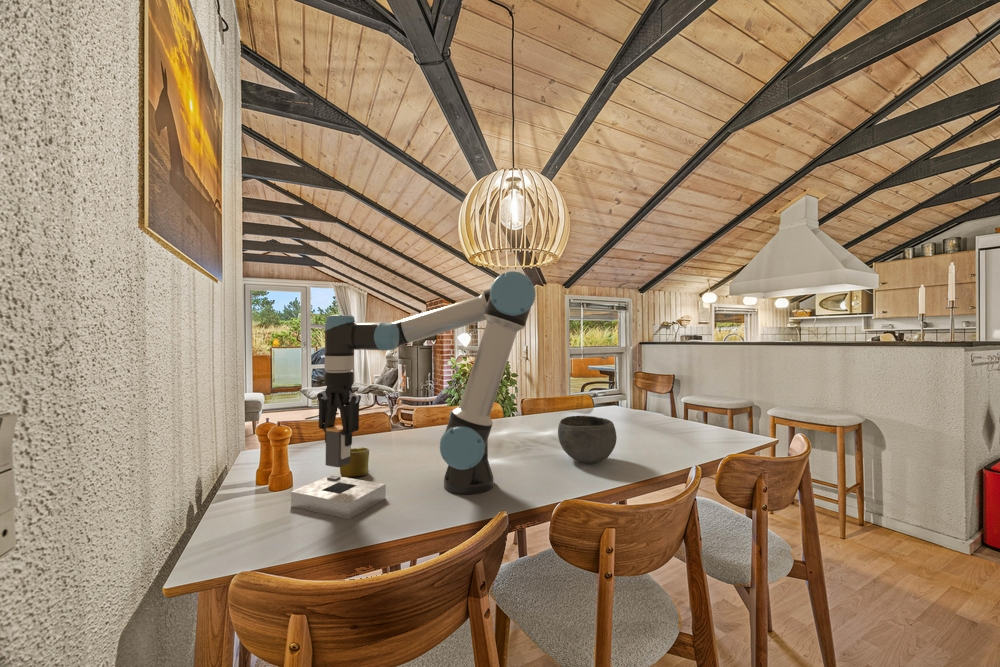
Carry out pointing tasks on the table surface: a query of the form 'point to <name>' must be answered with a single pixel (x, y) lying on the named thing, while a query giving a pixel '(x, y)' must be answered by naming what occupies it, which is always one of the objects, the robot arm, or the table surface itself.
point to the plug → (335, 447)
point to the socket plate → (338, 496)
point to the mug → (356, 463)
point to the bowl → (587, 438)
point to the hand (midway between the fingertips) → (338, 456)
